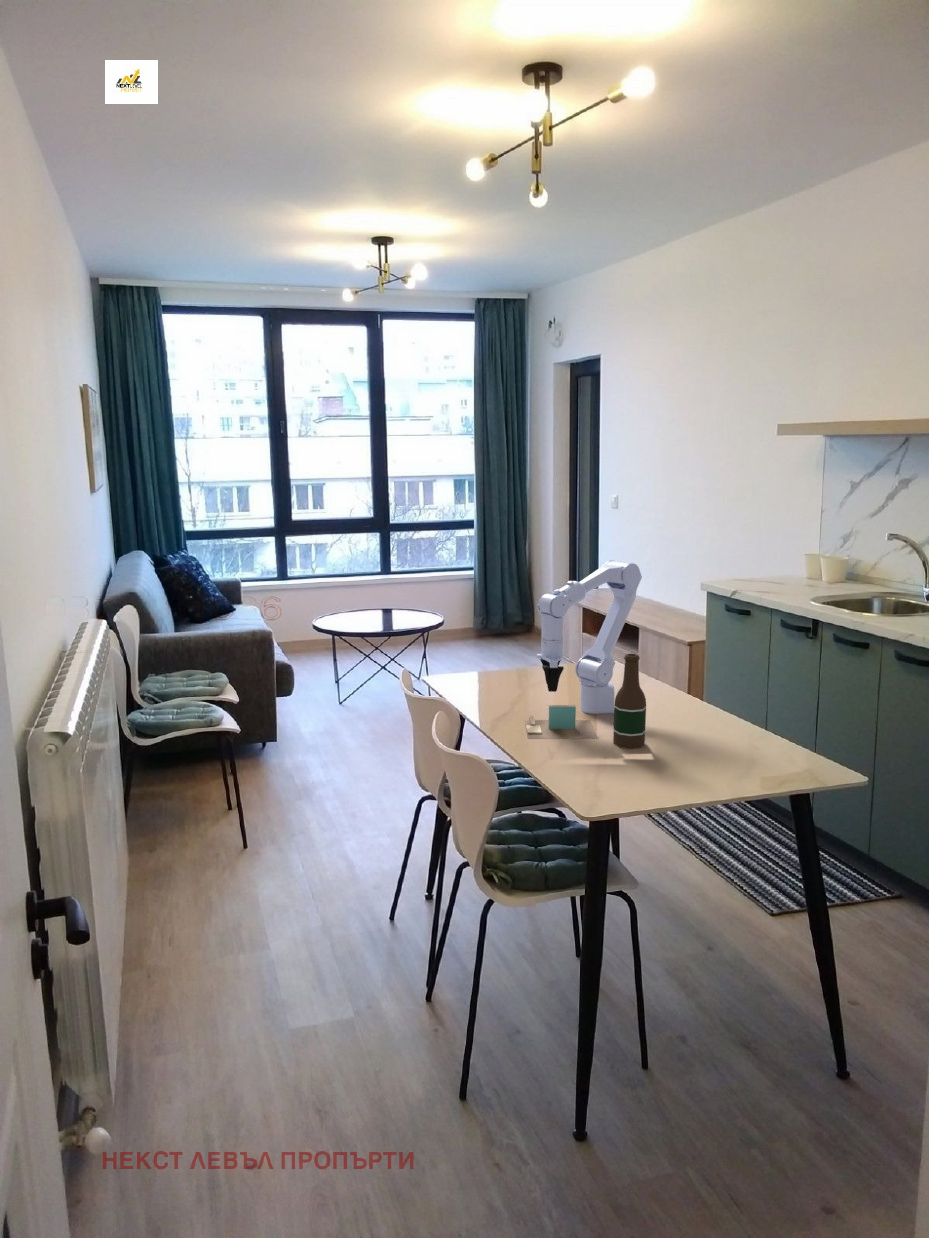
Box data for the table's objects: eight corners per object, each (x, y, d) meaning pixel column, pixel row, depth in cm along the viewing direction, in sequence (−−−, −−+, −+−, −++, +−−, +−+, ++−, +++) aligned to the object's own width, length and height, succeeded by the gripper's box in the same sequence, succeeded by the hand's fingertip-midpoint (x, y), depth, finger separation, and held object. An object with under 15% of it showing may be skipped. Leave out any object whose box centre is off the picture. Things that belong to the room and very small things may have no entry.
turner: (537, 718, 244) (537, 715, 244) (541, 734, 231) (541, 731, 230) (524, 718, 244) (524, 715, 244) (527, 734, 231) (527, 731, 230)
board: (590, 724, 243) (590, 720, 243) (598, 743, 227) (598, 738, 227) (524, 724, 243) (524, 720, 243) (527, 742, 227) (527, 738, 227)
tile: (574, 726, 237) (575, 705, 236) (575, 728, 235) (575, 706, 234) (548, 726, 237) (548, 705, 236) (548, 728, 235) (549, 706, 234)
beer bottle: (606, 747, 224) (609, 654, 219) (626, 741, 229) (629, 649, 224) (630, 755, 218) (634, 659, 213) (651, 748, 223) (654, 655, 218)
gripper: (535, 633, 248) (535, 680, 250) (538, 644, 233) (538, 694, 236) (561, 633, 247) (560, 680, 250) (565, 644, 233) (564, 694, 236)
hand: (551, 687), depth 243 cm, fingers open, 7 cm apart
